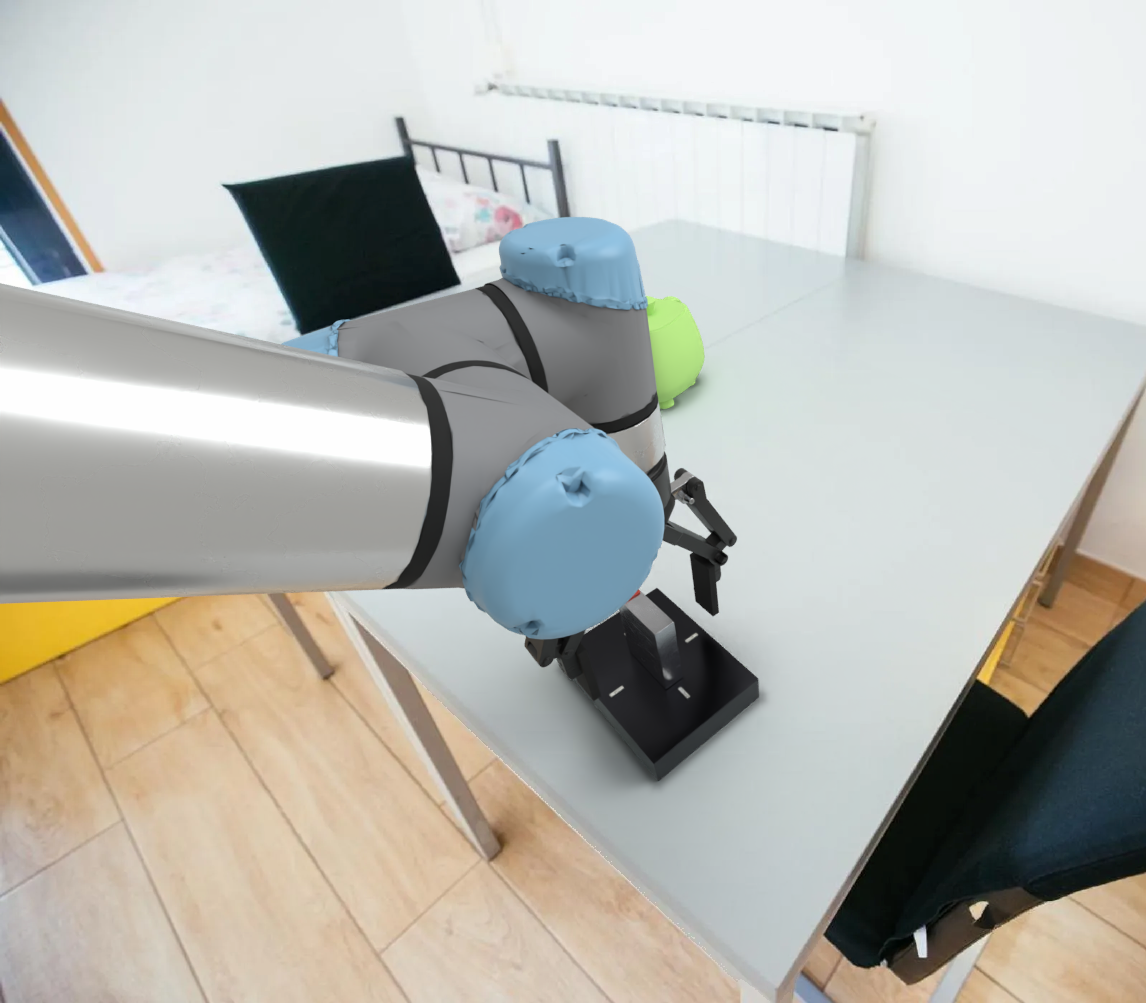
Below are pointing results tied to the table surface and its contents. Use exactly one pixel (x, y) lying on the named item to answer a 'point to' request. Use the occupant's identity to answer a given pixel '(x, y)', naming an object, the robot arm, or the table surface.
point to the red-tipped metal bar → (652, 639)
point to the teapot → (673, 347)
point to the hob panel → (667, 690)
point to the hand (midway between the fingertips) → (651, 645)
